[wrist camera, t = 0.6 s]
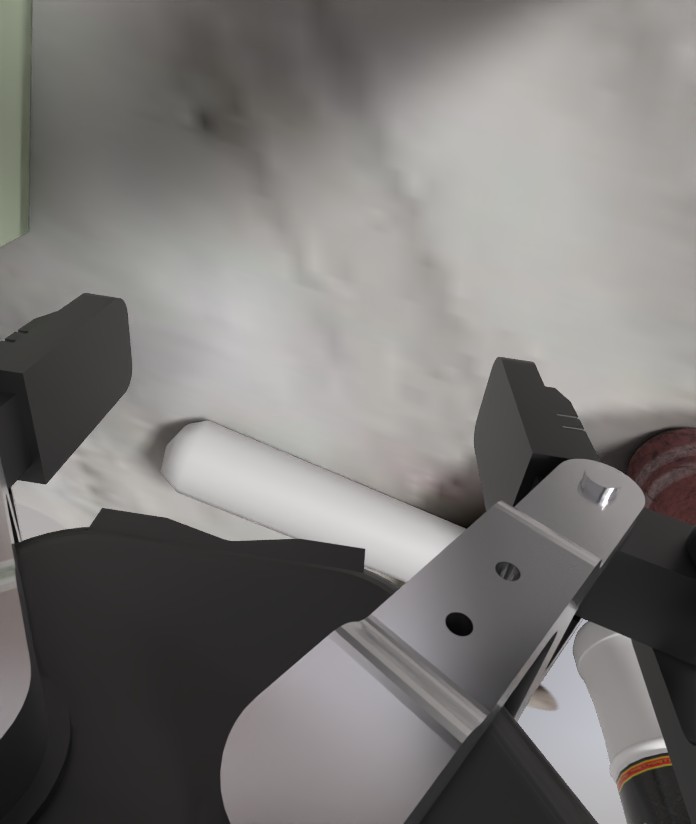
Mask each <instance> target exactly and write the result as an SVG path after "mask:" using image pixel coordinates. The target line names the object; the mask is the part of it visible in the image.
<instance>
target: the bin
mask: <svg viewBox="0 0 696 824" xmlns="http://www.w3.org/2000/svg"><path fill="white" fill-rule="evenodd" d="M31 30H32V0H0V247H1V246H3V245H5V244H7V243H9V242H11V241H12V240H14V239H16V238H18V237H20V236H22V235H24V234H25V233H27V232H29V172H30V101H31Z"/></svg>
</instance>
